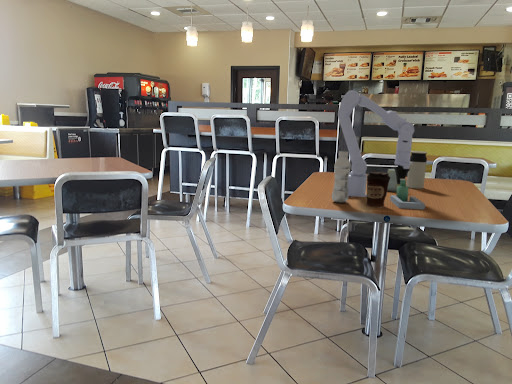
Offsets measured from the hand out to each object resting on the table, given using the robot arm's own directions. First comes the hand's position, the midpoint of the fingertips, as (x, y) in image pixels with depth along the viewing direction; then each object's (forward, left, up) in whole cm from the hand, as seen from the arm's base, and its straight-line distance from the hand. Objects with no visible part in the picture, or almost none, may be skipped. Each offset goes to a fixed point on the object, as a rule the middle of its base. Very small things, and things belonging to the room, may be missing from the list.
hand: (399, 183), depth 167 cm
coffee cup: (-13, -18, -7) cm, 23 cm away
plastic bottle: (-26, -14, -7) cm, 30 cm away
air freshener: (+2, +20, -7) cm, 21 cm away
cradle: (0, -12, -6) cm, 14 cm away
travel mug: (+16, +33, -7) cm, 37 cm away
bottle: (0, -5, -6) cm, 8 cm away
